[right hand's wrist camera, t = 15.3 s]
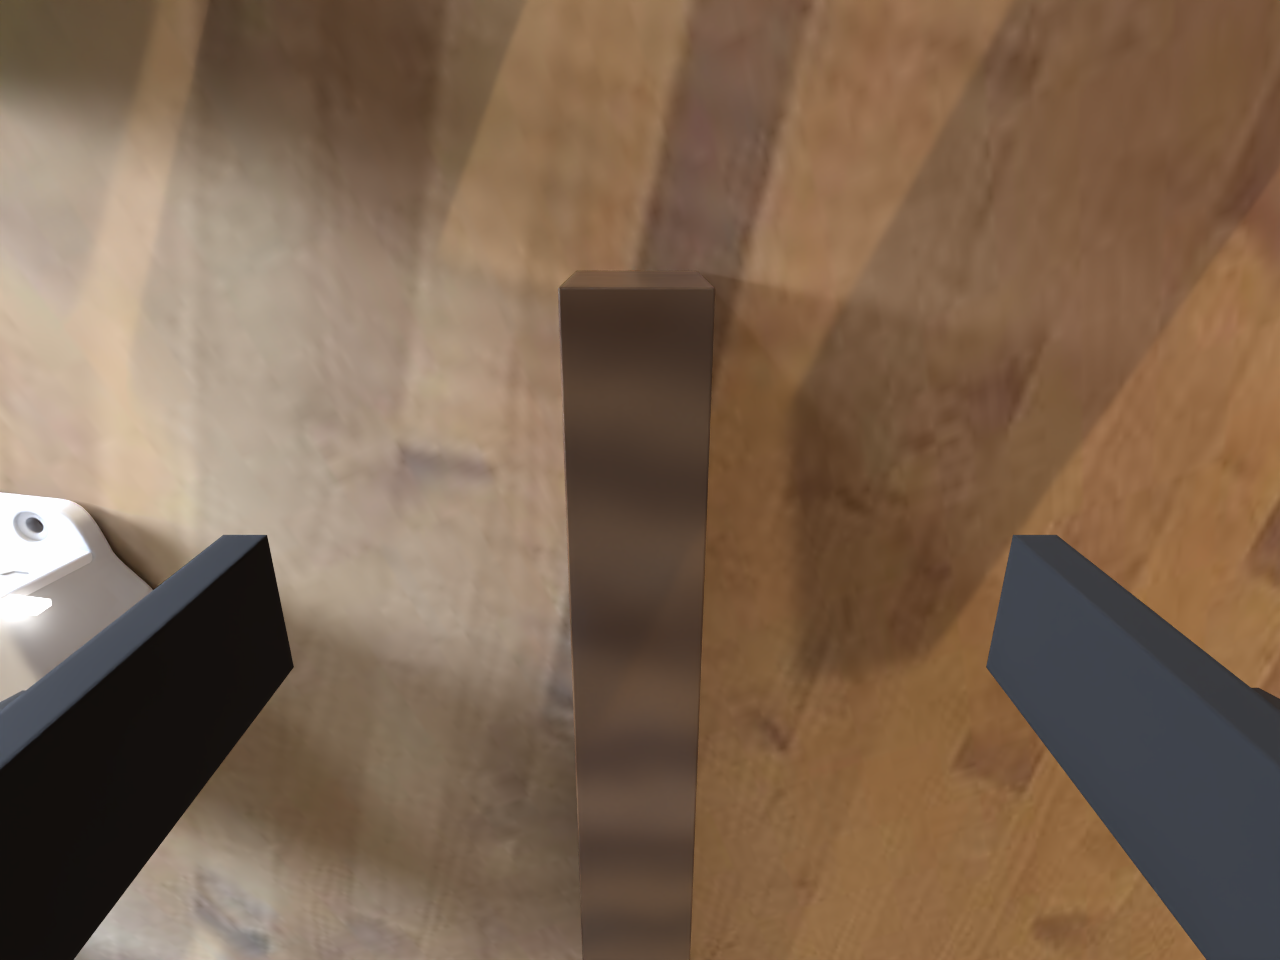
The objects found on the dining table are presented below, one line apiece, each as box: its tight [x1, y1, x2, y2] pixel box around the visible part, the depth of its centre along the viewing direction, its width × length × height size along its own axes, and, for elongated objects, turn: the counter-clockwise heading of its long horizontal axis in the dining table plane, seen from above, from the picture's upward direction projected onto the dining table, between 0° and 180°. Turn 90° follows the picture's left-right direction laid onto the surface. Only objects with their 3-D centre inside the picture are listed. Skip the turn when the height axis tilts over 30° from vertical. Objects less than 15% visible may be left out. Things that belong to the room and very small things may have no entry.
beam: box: [558, 271, 715, 960], centre depth 38 cm, size 52×6×8 cm, turn 0°
